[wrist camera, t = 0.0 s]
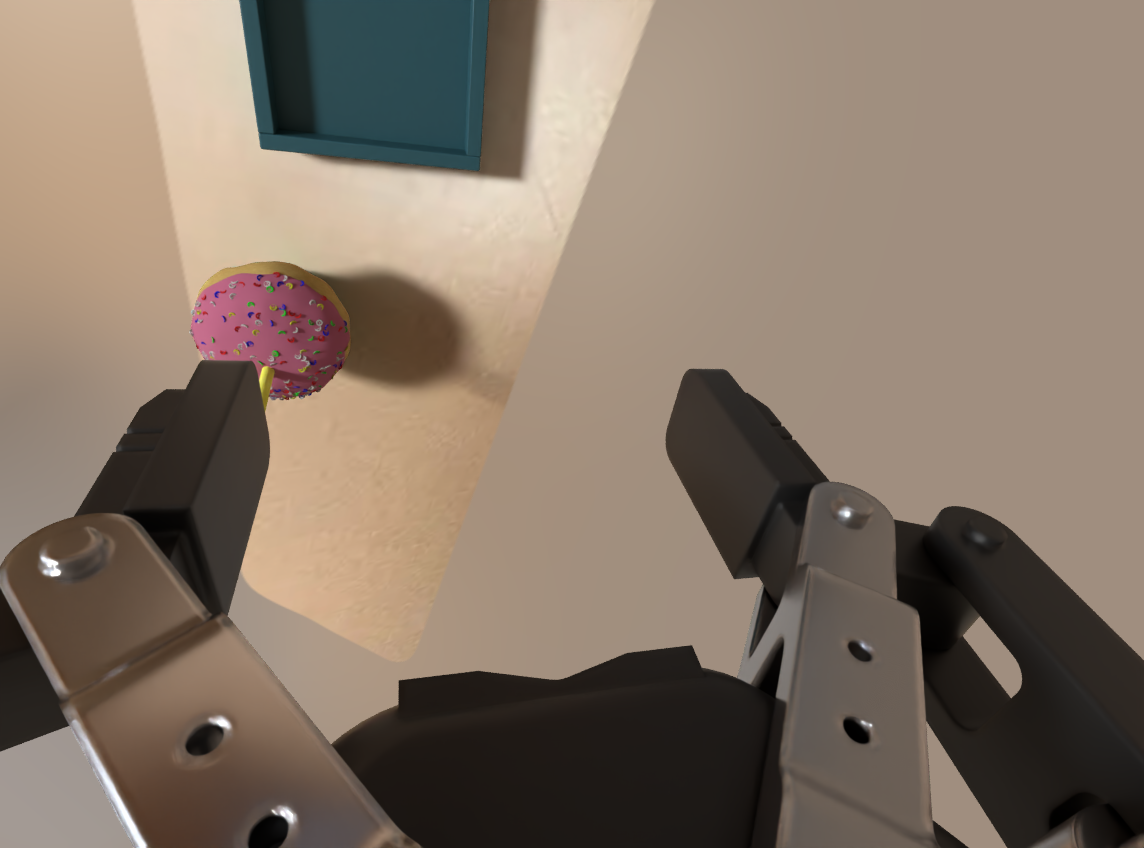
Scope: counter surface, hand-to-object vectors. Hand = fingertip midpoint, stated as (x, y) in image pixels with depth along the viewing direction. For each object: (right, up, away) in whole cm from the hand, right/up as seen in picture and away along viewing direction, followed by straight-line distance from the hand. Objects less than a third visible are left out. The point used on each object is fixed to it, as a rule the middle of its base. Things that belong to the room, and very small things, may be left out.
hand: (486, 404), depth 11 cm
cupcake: (-17, +8, +27) cm, 33 cm away
